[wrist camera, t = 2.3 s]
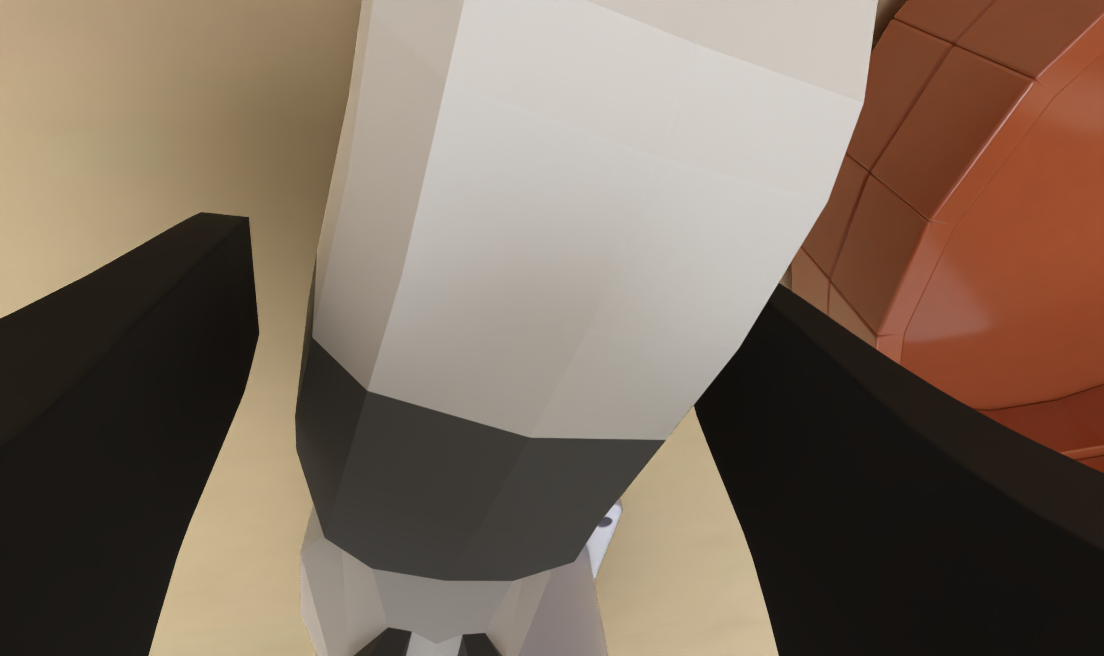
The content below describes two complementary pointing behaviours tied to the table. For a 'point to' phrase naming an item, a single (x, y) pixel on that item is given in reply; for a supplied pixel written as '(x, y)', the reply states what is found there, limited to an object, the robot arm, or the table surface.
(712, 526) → the table surface
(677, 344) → the giant panda
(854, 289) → the bowl
